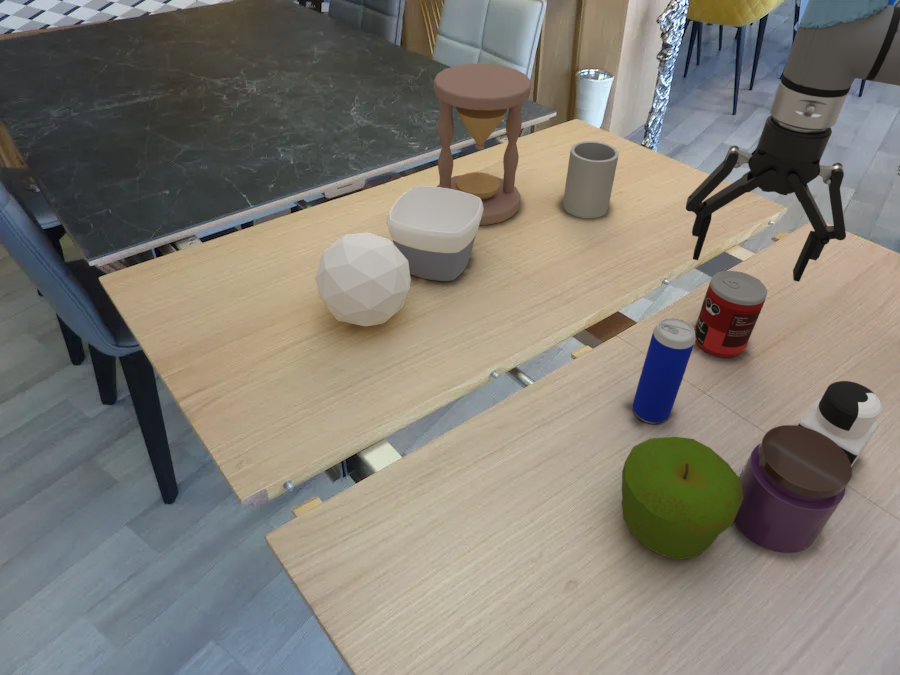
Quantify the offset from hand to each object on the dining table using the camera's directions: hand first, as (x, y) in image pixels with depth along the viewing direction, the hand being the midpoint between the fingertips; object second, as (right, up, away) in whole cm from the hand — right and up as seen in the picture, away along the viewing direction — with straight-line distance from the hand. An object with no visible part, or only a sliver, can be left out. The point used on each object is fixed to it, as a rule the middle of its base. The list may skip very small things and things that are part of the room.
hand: (745, 265), depth 95 cm
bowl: (-45, +3, +25) cm, 51 cm away
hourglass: (-37, +17, +41) cm, 58 cm away
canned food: (0, -11, +10) cm, 15 cm away
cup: (-15, +16, +41) cm, 46 cm away
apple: (-17, -33, -16) cm, 40 cm away
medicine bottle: (+6, -26, -8) cm, 28 cm away
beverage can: (-14, -21, -2) cm, 25 cm away
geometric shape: (-56, -7, +13) cm, 58 cm away
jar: (-3, -32, -15) cm, 35 cm away
